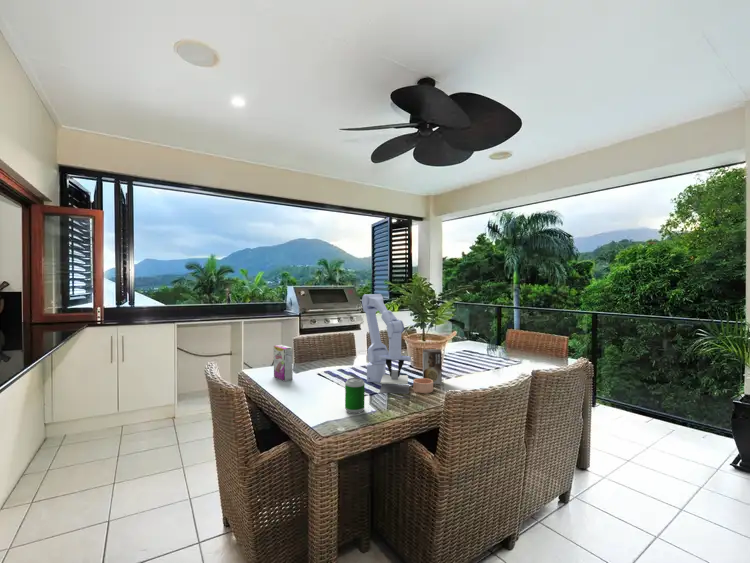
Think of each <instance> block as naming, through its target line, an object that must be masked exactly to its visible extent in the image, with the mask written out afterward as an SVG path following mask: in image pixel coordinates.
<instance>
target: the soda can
mask: <svg viewBox="0 0 750 563" xmlns="http://www.w3.org/2000/svg"><path fill="white" fill-rule="evenodd" d="M365 389H366V386H365V380H363V379H362V378H361V377H351V378H347V380H346V381H345V384H344V390H345V391H344V392H345V393H344V395H345V397H344V401H345V402H344V406H345V407H344V408H345V410H346V411H347V412H348V413H349V412H350V414H353V413H356V414H360V413H362V412H363V411H364V409H365V395H366V394H365ZM361 411H362V412H361ZM359 412H360V413H359Z"/></svg>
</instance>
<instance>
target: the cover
mask: <svg viewBox="0 0 750 563" xmlns="http://www.w3.org/2000/svg"><path fill="white" fill-rule="evenodd" d="M408 381H409V375H406V374H405V375H403V374H402V375H401V374H400V376H399V377H398V369H396V370H395V369H394V370H393V369H392V372H391V377H390V374H386V375H383V376H382V379H381V382H380V384H401V385H409V384H408Z"/></svg>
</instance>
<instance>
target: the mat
mask: <svg viewBox="0 0 750 563" xmlns="http://www.w3.org/2000/svg"><path fill="white" fill-rule="evenodd" d="M409 392H410V384H387V383H381V387H380V390H379V392H378V393H382V394H383V393H385V394H410V393H409Z"/></svg>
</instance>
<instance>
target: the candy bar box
mask: <svg viewBox="0 0 750 563" xmlns="http://www.w3.org/2000/svg"><path fill="white" fill-rule="evenodd" d="M293 367H294V366H293V347H291V346H289V345H284V344H277V345H276V344H275V345H273V378H274V377H275V378H276V379H279V380H280V381H283V382H288V381H292V380H293Z"/></svg>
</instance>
